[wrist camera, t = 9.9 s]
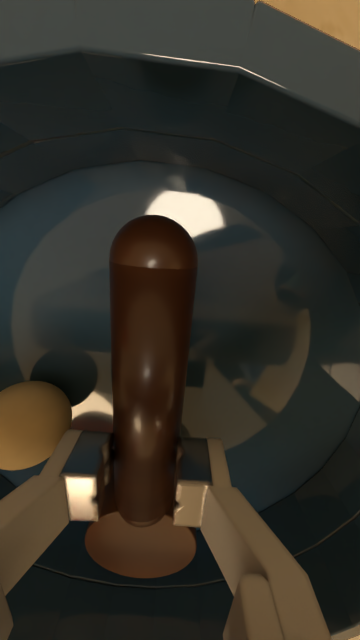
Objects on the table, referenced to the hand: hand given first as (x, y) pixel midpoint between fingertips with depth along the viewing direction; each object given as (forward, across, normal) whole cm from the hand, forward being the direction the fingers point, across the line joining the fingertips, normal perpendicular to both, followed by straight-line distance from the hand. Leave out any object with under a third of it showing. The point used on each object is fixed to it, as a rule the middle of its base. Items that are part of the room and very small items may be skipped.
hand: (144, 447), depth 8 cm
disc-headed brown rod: (+2, 0, 0) cm, 2 cm away
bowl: (+3, 0, 0) cm, 3 cm away
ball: (+1, +4, 0) cm, 5 cm away
